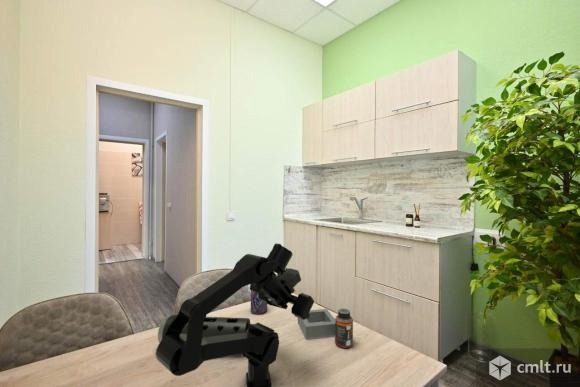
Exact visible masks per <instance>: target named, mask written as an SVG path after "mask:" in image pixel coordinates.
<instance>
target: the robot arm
mask: <svg viewBox="0 0 580 387" xmlns="http://www.w3.org/2000/svg"><path fill="white" fill-rule="evenodd" d="M292 257H293V252H292V250H289V248H286V247H285V246H283V245H282V244H281V243H276V242H275V243H274V245H273V247H272V249H271V250H270V252H269V254H268V255H267V257H264V256H261V255H260V256H259V255H255V254H252V253H246V254H245V255H244V256H242V257H241V258H240V259H239V260H238V261H237V262H236V263H235V265H234V266H233V269H232V270H231V271H230V272H228V273H227V274H225V275H224V276H222V277H220V278H219V279H218V280H217V281H214V282H213V283H211V285H209V286H207V287H205V288H204V289H203V290H201V291H200V292H199V293H197V294H195V295H194V296H193V297H191V298H188V299H186V300H185V301H183V302H182V304H181V306H180V308H179V310H178V313H177V314H176V315H177V316H176V317H175V318H174V319H173V320H172V322H171V323H170V324H169V325H168V327H167V329H166V331H165V334H164V336H163V338H162V341H161V342H160V343H159V342H158V343H159V344H158V345H157V347H156V350H155V357H156V360H157V361H158V362H159V363H160V364H161V365H162V366H163V367H164V368H166V370H168V371H169V372H170V373H171V374H172V375H173V376H175V377H181V376H184V375H186V374H189V373H191V372H193V371H195V370H197V369H199V367H200V366H201V365H202V364H203V363H204V362H206V361H207V362H208V361H211V360H217V359H223V358H227V357H231V356H233V357H234V356H237V355H241V357H244V358H246V359H247V372H246V373H245V380H246V381H245V382H246V387H273V386H272V385H273V384H272V383H273V382H272V378H271V374H270V366H271V364H273V363H275V361H277V360H276V359H277V356H278V351H279V347H280V337H279V333H278V332H276V331H275V329H273V328H272V327H268V326H266V325H264V324H262V323H260V322H256V323H250V324H249V329H248V330H247V331H246V332H245V333H237V334H229V335H221V336H212V337H204V338H202V336H203V323H204V320H205V318H206V317H207V315H208V314H210V313H211V312H212V311H214V310H215V309H216V308H218V307H219V306H221V305H222V304H223V303H224V302H225V301H226V300H228V299H230V298H231V297H232V296H233V295H234V294H236V293H237V292H238V291H240V290H241V289H243V288H244V287H246V286H249V290H250V291H251V290H252V291H255V292H258V293H259V292H260V293H259V296H258V298H259V299H260V300H261V301H262V302H264V303H266V304H267V305H268V306H271V307H275V308H280V309H283V310H287V309H288V307H289V306H288V304H291V305H292V307H291V314H292V315H293V316H294V317H295V318H297V319H298V318H300V319H303V320H304V319H308V318H309V316H310V314H309V312H310V310H312V307H313V305H314V304H315V299H314V298H313V297H312V295H309V294H305V293H303V292H301V293H299V294H298V296H296V295H294V292H295V291H296V290H295V287H296V286H297V285H298V284H299V283H300V282H301V281H302V277H301V275H300V272H299V270H297V269H296V268H295V269H294V268H291V267H290V268H287V266H288V264H289V263H290V261H291V259H292ZM187 323H188V328H187V334H181V331H182V329H183V328H184V327H185V325H186V324H187Z"/></svg>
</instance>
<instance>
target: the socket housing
mask: <svg viewBox="0 0 580 387" xmlns="http://www.w3.org/2000/svg"><path fill="white" fill-rule="evenodd" d="M309 314H310V316H309V318H308V319H304V320H303V319H300V318H298V317H297V325H298V327H299V328H300V330H301V332H302V335H303V336H304V339H305V340H315V339H323V338H332V337H334V338H335V318H334V316H333V315H332V314H331V312H330V311H329V310H328V308H322V309H321V308H319V309H311V310H310V312H309Z"/></svg>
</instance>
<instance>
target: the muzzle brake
mask: <svg viewBox="0 0 580 387" xmlns="http://www.w3.org/2000/svg"><path fill="white" fill-rule="evenodd" d="M176 316H177V314H171V315H169V316H165V317H164V318H162V320H161V322H160V324H159V328H158V331H157V341H158V343H160V342H161V341H162V338H163V336H164V334H165V331H166V329H167V327H168V325H169V324H170V323H171V322H172V320H173V319H174V318H175V317H176ZM249 324H251V319H250V318H249V317H230V316H229V317H228V316H227V317H223V316H206V318H205V320H204V323H203V336H202V338H204V337H212V336H221V335H229V334H237V333H245V332H246V331H247V330H248V329H249ZM187 328H188V323H187V324H186V325H185V327H184V328H183V329H182V331H181V334H187Z"/></svg>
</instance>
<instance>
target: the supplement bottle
mask: <svg viewBox="0 0 580 387" xmlns="http://www.w3.org/2000/svg"><path fill="white" fill-rule="evenodd" d="M334 319H335V336H334V343H335V345H336V346H337V347H339V348H342V349H349V348H351V347H352V346H353V343H354V340H353V339H354V319H353V317H352V316H351V311H350V309H348V308H339V309H338V310H337V315H336V316H335V318H334Z"/></svg>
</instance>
